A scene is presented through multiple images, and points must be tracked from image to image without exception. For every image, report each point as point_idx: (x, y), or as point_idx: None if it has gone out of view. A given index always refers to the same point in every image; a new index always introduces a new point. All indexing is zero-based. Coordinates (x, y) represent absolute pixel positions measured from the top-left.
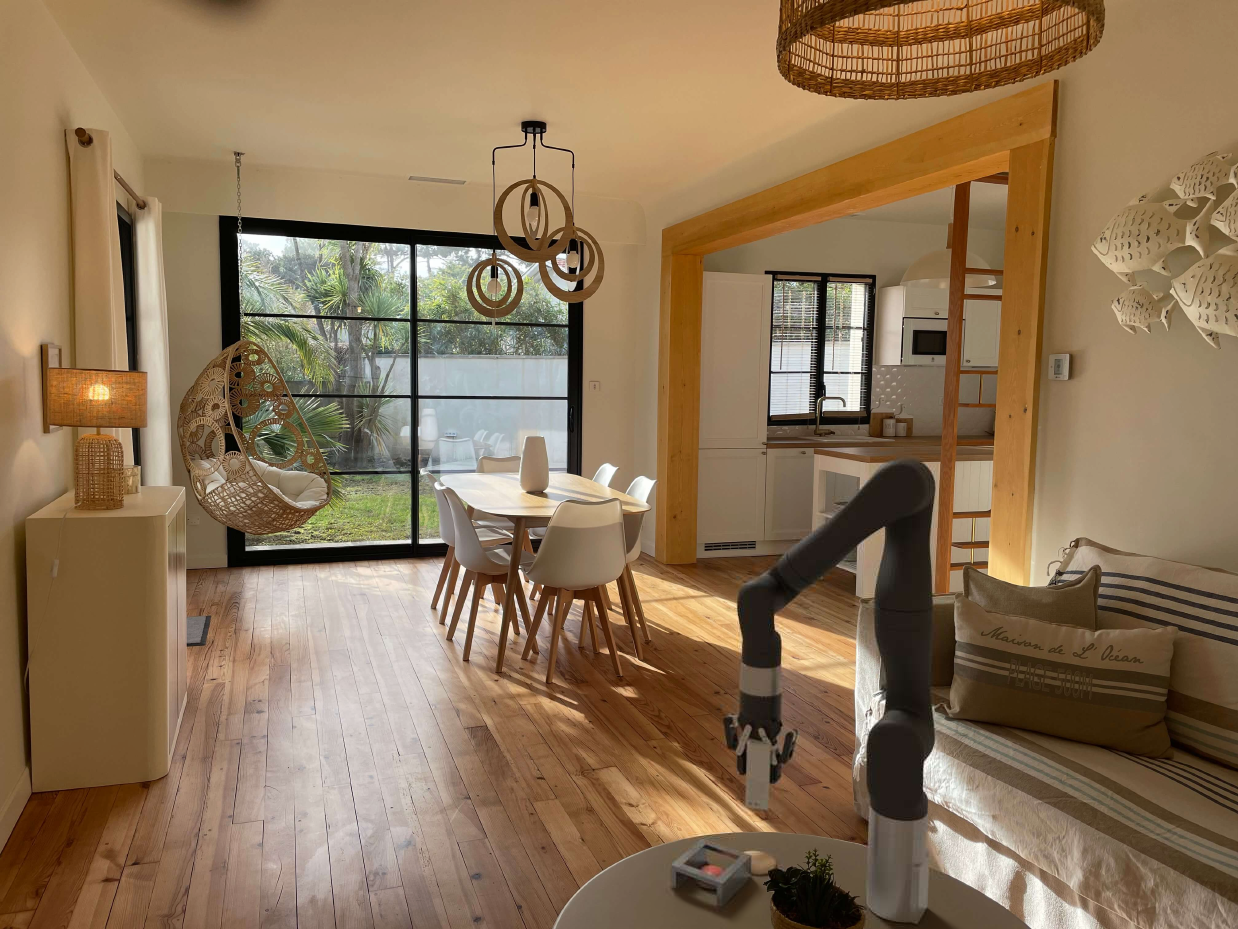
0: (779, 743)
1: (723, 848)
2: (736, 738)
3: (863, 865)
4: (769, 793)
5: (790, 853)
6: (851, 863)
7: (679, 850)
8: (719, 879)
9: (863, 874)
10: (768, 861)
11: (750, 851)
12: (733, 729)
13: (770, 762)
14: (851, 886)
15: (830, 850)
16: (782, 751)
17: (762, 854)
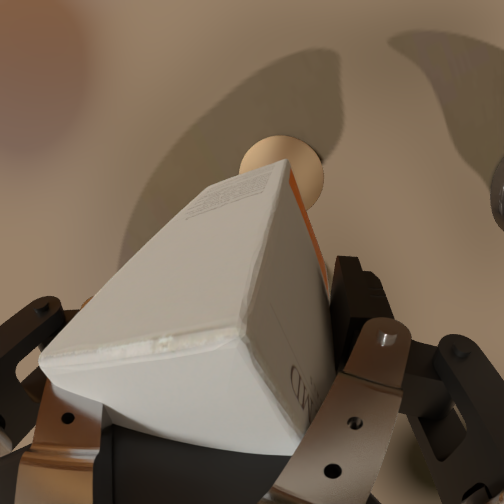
0: (401, 398)
1: None
2: (35, 343)
3: (465, 75)
4: (322, 266)
5: (327, 93)
6: (446, 76)
7: (136, 214)
8: None
9: (473, 108)
10: (305, 165)
11: (253, 147)
12: (4, 411)
13: (333, 369)
14: (465, 160)
15: (395, 42)
16: (428, 462)
17: (281, 144)
